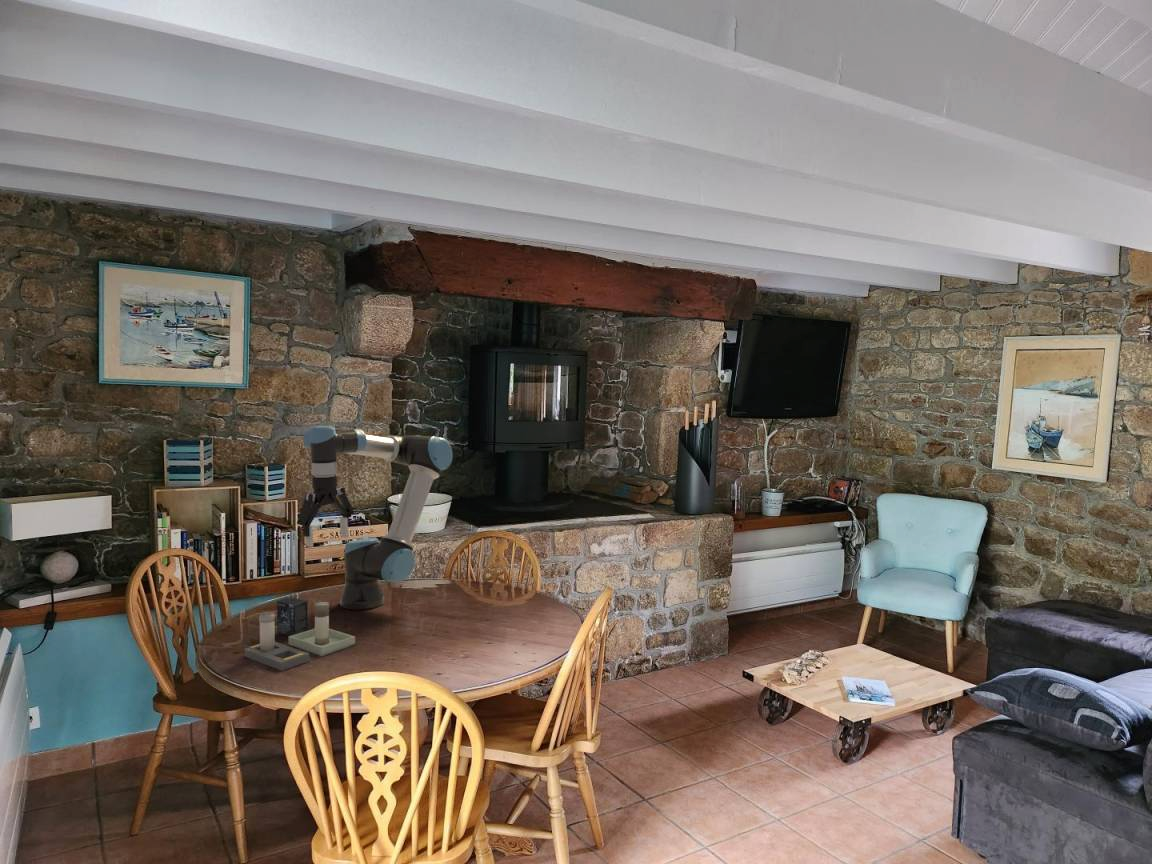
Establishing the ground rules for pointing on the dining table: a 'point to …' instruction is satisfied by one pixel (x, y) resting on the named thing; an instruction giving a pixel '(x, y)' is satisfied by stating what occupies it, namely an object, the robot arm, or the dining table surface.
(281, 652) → the fuse holder
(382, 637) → the dining table surface
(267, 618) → the fuse
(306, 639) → the parts tray
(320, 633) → the cylinder
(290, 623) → the box
